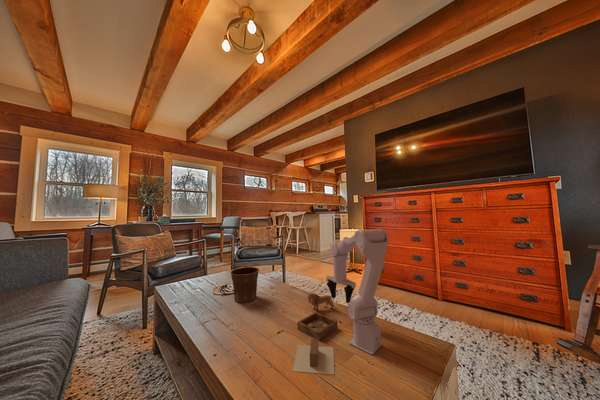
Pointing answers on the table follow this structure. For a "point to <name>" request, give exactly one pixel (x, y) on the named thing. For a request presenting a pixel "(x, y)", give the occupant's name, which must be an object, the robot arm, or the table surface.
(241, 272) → the plant pot
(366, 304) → the robot arm
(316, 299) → the lion figurine
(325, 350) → the lid
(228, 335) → the table surface
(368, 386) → the table surface
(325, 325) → the wooden tray
